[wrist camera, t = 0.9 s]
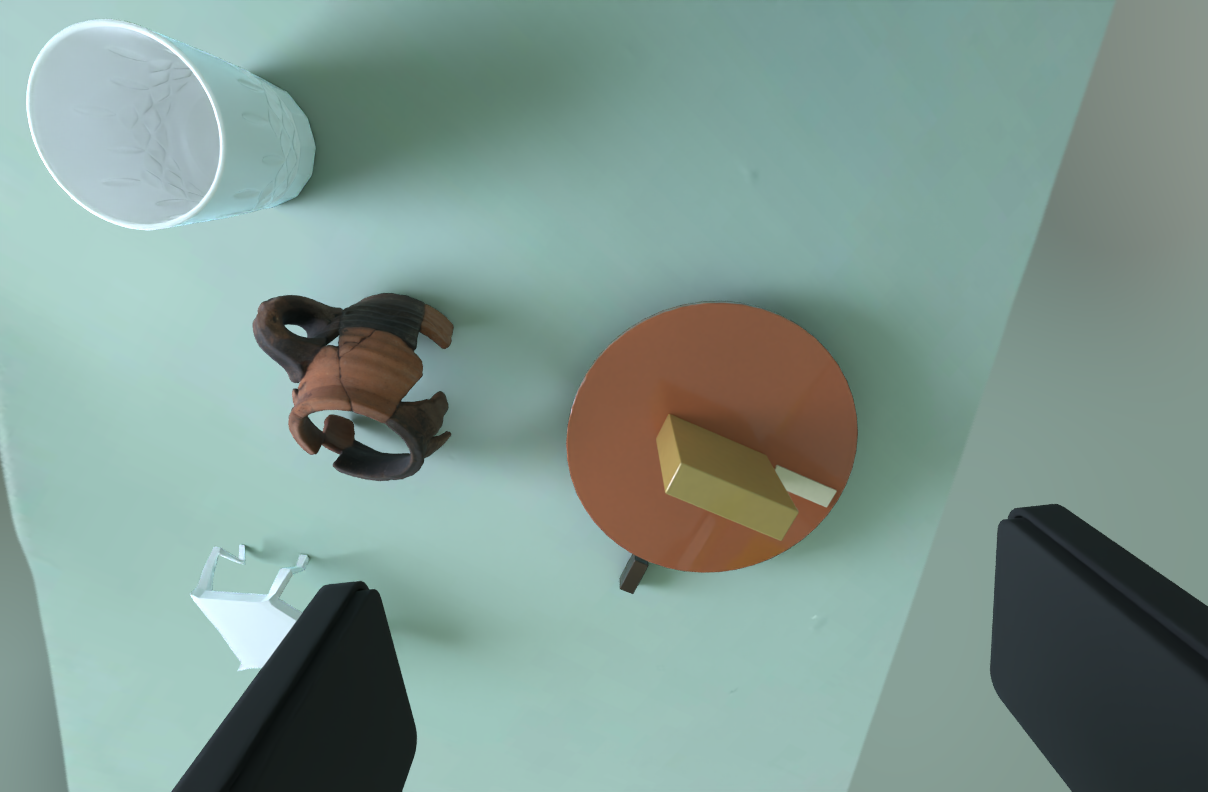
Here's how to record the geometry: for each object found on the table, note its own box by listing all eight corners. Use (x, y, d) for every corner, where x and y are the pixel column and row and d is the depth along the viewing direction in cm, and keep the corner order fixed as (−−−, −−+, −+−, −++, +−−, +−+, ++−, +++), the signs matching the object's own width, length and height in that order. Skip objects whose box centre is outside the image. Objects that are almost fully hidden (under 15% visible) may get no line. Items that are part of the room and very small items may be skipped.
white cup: (279, 38, 34) (151, -19, 25) (353, 184, 36) (262, 184, 27) (153, 101, 35) (-17, 71, 26) (233, 240, 37) (104, 259, 28)
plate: (640, 250, 35) (647, 267, 28) (909, 373, 37) (982, 419, 30) (524, 506, 40) (504, 578, 33) (767, 603, 42) (800, 691, 35)
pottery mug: (504, 340, 39) (469, 449, 34) (429, 408, 45) (389, 510, 40) (317, 218, 34) (241, 322, 29) (260, 312, 40) (187, 414, 35)
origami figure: (219, 628, 46) (175, 678, 41) (230, 525, 43) (183, 567, 38) (389, 665, 46) (364, 720, 42) (409, 567, 44) (385, 613, 39)
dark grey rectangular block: (667, 326, 39) (669, 332, 37) (815, 392, 40) (823, 401, 38) (557, 554, 43) (555, 568, 42) (692, 607, 45) (695, 622, 43)
